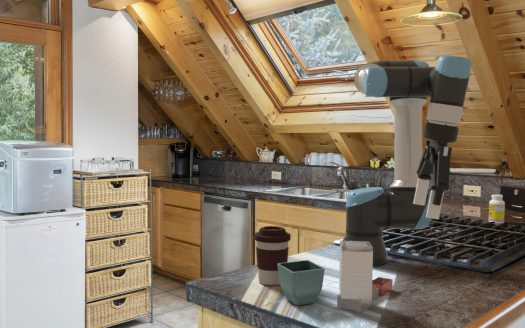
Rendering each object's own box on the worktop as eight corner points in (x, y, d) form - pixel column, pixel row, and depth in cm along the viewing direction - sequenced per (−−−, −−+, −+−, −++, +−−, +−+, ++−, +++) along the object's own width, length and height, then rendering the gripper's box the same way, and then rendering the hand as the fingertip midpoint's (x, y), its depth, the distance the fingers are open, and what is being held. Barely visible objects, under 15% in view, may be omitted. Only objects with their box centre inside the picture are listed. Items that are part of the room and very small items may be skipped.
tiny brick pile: (337, 307, 122) (337, 278, 122) (374, 286, 139) (375, 260, 138) (360, 312, 118) (360, 282, 118) (396, 290, 135) (397, 264, 135)
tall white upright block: (341, 298, 119) (342, 247, 119) (339, 289, 126) (340, 240, 125) (371, 299, 119) (372, 247, 118) (368, 290, 126) (369, 241, 125)
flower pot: (292, 310, 120) (292, 272, 119) (276, 298, 128) (276, 262, 127) (325, 305, 124) (325, 268, 123) (307, 294, 132) (308, 259, 131)
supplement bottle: (487, 221, 243) (488, 193, 242) (502, 221, 241) (503, 194, 240) (489, 223, 237) (490, 195, 236) (505, 224, 235) (506, 196, 234)
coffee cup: (248, 285, 139) (248, 230, 138) (261, 275, 148) (261, 223, 147) (283, 289, 136) (284, 232, 135) (294, 279, 145) (295, 226, 144)
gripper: (476, 130, 108) (456, 227, 112) (444, 122, 133) (428, 201, 136) (440, 125, 109) (421, 222, 112) (414, 117, 133) (399, 197, 137)
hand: (425, 211), depth 124 cm, fingers open, 13 cm apart
